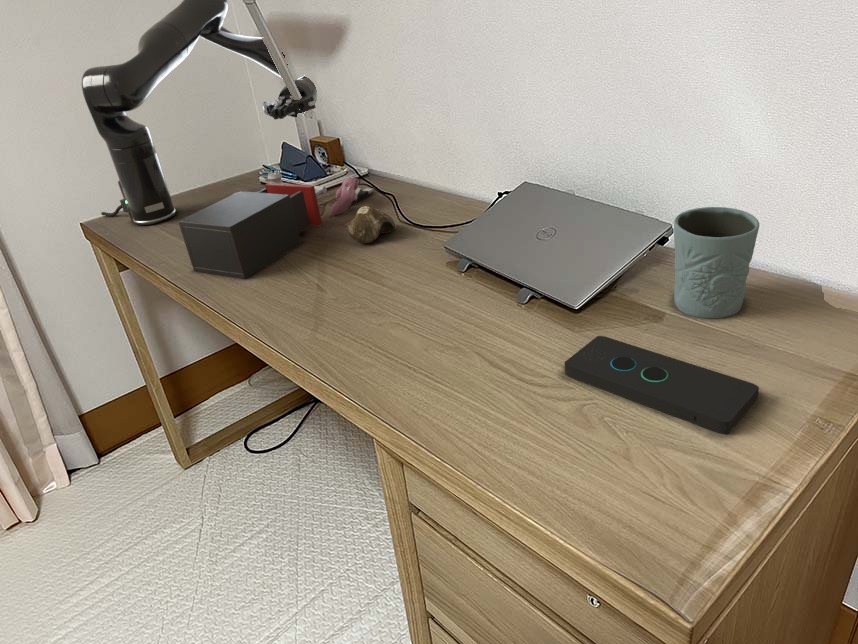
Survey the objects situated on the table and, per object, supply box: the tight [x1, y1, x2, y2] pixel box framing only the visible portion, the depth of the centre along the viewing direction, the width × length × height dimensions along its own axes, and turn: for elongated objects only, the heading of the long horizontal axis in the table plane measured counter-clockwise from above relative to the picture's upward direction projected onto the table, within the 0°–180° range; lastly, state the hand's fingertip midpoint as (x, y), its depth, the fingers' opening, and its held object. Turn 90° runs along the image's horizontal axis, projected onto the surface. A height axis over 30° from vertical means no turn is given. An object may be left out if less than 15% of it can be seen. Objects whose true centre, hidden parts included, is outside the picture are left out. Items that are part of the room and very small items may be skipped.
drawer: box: [256, 182, 328, 234], centre depth 136 cm, size 21×12×8 cm, turn 151°
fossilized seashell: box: [344, 205, 397, 244], centre depth 129 cm, size 8×7×10 cm
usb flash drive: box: [351, 187, 375, 205], centre depth 152 cm, size 9×5×1 cm, turn 147°
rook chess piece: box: [267, 170, 284, 184], centre depth 151 cm, size 4×4×8 cm
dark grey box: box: [177, 190, 302, 280], centre depth 127 cm, size 16×13×10 cm
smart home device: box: [564, 335, 760, 435], centre depth 79 cm, size 8×2×20 cm
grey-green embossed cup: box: [673, 206, 760, 319], centre depth 91 cm, size 10×10×12 cm
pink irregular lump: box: [330, 176, 359, 216], centre depth 146 cm, size 10×5×7 cm, turn 179°
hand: (277, 114), depth 153 cm, fingers closed
